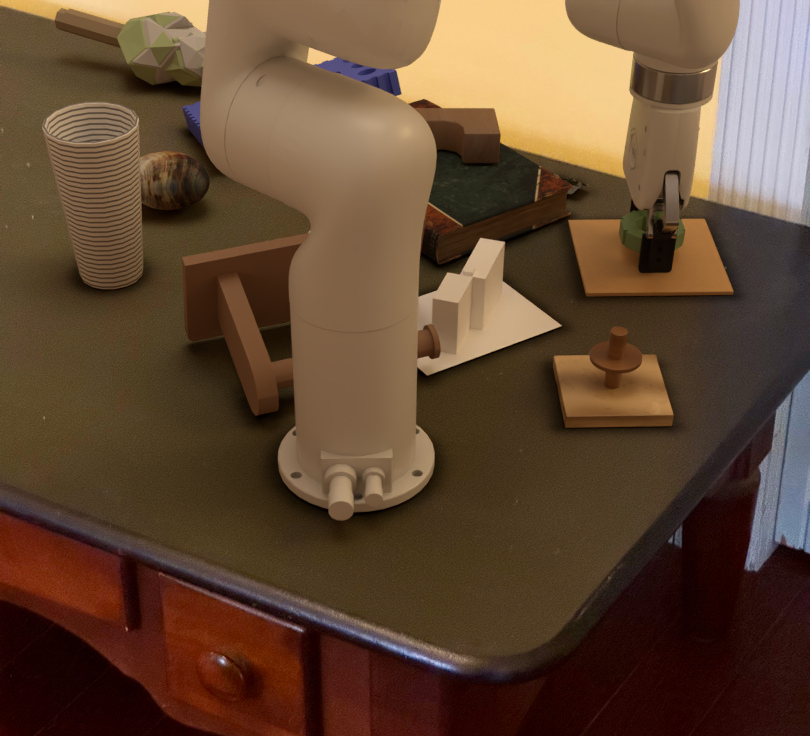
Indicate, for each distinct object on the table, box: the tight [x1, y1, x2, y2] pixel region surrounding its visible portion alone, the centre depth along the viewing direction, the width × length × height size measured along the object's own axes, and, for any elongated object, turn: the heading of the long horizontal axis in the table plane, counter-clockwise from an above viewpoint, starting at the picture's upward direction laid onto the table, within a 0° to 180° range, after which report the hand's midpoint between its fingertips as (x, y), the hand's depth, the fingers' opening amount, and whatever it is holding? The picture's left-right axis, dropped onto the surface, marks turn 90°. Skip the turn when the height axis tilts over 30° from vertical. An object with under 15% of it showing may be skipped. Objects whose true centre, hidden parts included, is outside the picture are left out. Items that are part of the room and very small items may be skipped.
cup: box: [41, 101, 144, 290], centre depth 133 cm, size 8×8×16 cm
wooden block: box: [414, 107, 502, 163], centre depth 149 cm, size 7×3×15 cm
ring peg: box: [552, 326, 674, 429], centre depth 122 cm, size 9×9×7 cm
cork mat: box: [567, 218, 734, 297], centre depth 142 cm, size 14×14×1 cm
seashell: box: [140, 150, 211, 211], centre depth 146 cm, size 10×6×8 cm
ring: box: [619, 210, 685, 253], centre depth 140 cm, size 6×6×2 cm
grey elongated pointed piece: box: [552, 172, 590, 195], centre depth 152 cm, size 6×2×3 cm
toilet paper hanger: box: [181, 218, 441, 417], centre depth 124 cm, size 22×13×10 cm, turn 111°
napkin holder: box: [417, 238, 563, 376], centre depth 131 cm, size 15×11×6 cm
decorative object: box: [54, 7, 206, 87], centre depth 169 cm, size 9×10×25 cm
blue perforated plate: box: [181, 57, 402, 150], centre depth 157 cm, size 25×24×3 cm
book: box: [408, 98, 574, 265], centre depth 150 cm, size 17×4×25 cm
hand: (648, 252), depth 141 cm, fingers closed on ring, 5 cm apart
